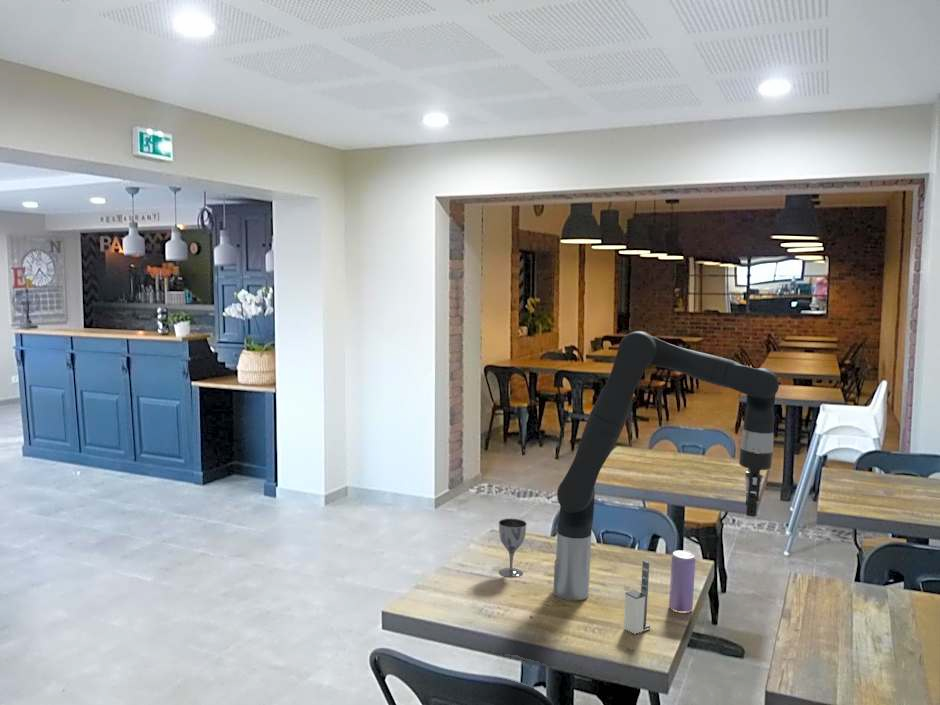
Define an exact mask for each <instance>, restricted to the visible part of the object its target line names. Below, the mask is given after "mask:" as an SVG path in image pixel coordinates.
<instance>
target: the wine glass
mask: <svg viewBox="0 0 940 705" xmlns="http://www.w3.org/2000/svg"><path fill="white" fill-rule="evenodd" d="M498 534H499V535H498V536H499V540H500V543H501V544H502V545H503V546H504V548H505V549H506V550H507V552H508V554H509V556H508V557H509V567H505V568H501V569H499V570H498V574H499V575H500V576H501V577H504V578H511V579H512V578H520V577H521V576H523V575H524V571H522V570H521V569H518V568H515V567H513V563H514V562H513V561H514V556H515V553H516V551H517V550H518V549H519V548H520V547H521V546H522V545H523V543H524V542H525V538H526V534H527V522H526V521H525V520H523V519H519V518H512V517H511V518H503V519H500V520H499V521H498Z"/></svg>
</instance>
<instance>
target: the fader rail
mask: <svg viewBox="0 0 940 705" xmlns="http://www.w3.org/2000/svg"><path fill="white" fill-rule="evenodd" d="M640 569H641V575H640V576H641V583H640V586H641V587H640V588H641V589H640V593H642V594H644V595H645V605H644V623H643V629H644V630H645V629H647V628H650V629H651V625H649V624H648V623H647V613H648V597H649V596H648V593H649V575H650V574H649V573H650V562H649V561H646V560H643V561H642V565H641V568H640Z"/></svg>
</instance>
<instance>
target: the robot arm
mask: <svg viewBox="0 0 940 705" xmlns="http://www.w3.org/2000/svg"><path fill="white" fill-rule="evenodd" d="M648 366H652V367H660V368H666V369H669V370H672V371H676V372H679V373H681V374H684V375H686V376H688V377H691V378H693V379H696V380H698V381H702V382H705V383H709V384H711V385H715V386H718V387H722V388H723V387H724V388H728V389H732V390H734V391H737V392H739V393H741V394H745V395H746V407H745V412H744V413H745V414H744V419H743V420H744V421H743V430H742V434H741V441H740V448H739V449H740V450H739V451H740V452H739V459H738V463H739V465H740V466H741V467H743V468H746V469H747V471H745V473H744V474H745V476H744V478H745V480H744V486H745V492H746V495H745V496H746V498H745V506H746V513H745V514H746V516H748V517H754V518H755V517H756V516H757V509H758V508H757V507H758V502H759V501H760V498H759V497H760V494H761V491H762V483H763V477H764V476H763V473H761V472H760V471H765V470H766V471H767V470H770V469H771V468H772V461H773V449H774V431H775V430H774V427H775V401H776V395H777V393H778V391H779V388H780V384H779V383H780V382H779V379H778V378H777V375H776V374H775V373H774V372H773V370H771V369H768V368H767V367H759V368H754V367H752V366H751V367H750V366H747V365H744V364H741V363H739V362H738V361H735V360H733V359H728V358H725V357H721V356H719V355H713V354H709V353H705V352H700V351H697V350H693V349H687V348H685V347H681V346H677V345H675V344H671V343H669V342H666V341H665V340H661V339H660V338H658V337H656V336H653V335H651V334H649V333H648V332H646V331H643V330H635V331H631V332H629V333H628V334H625V336H624V337H622V339H621V340H620V343H619V345H618V348H617V353H616V355H615V359H614V362H613V365H612V368H611V372H610V375H609V376H608V379H607V381H606V383H605V384H604V386H603V387H602V389H601V392H600V393H599V394H598V397H597V399H596V401H595V403H594V405H593V406H592V409H591V412H590V414H589V417H588V418H587V420H586V423H585V426H584V429H583V431H582V433H581V437H580V440H579V442H578V447H577V450H576V454H575V456H574V459H573V461H572V463H571V464H570V467H569V469H568V470H567V473H566V474H565V476H564V478H563V479H562V481H561V483H560V484H559V486H558V488H557V491H556V492H557V493H556V497H557V501H558V504H559V505H560V507H559V515H558V520H557V527H556V548H555V549H556V553H555V560H554V566H553V568H554V569H553V570H554V571H553V588H552V591H553V593H552V595H553V597H558V598H560V599H563V600H567V601H574V602H575V601H583V600H585V599H587V598H588V597H589V592H590V575H591V574H590V572H591V570H590V568H591V551H592V531H593V530H592V529H593V522H594V512H595V511H594V510H595V500H596V497H595V496H596V491H595V485H596V483H597V479H598V477H599V475H600V474H599V473H600V471H601V469H602V467H603V466H604V464H605V462H606V461H607V460H608V458H609V456H610V454H611V452H612V451H613V450H614V448H615V446H616V444H617V442H618V440H619V438H620V436H621V433H622V431H623V429H624V427H625V424H626V422H627V420H628V416H629V414H630V410H631V406H632V403H633V398H634V395H635V391H636V388H637V386H638V385H639V382H640V380H641V379H642V376H643V375H644V374H645V372H646V370H647V368H648Z"/></svg>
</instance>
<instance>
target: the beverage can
mask: <svg viewBox="0 0 940 705" xmlns="http://www.w3.org/2000/svg"><path fill="white" fill-rule="evenodd" d="M695 571H696V555H695V554H694V553H693V552H691V551H687V550H675V551H673V552H672V555H671V565H670V581H669V582H670V583H669V599H668V600H669V601H668V607H669V608H672V609H674V610H677V611H690V610H691V611H693V605H694V591H695V590H694V589H695V573H696V572H695Z"/></svg>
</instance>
